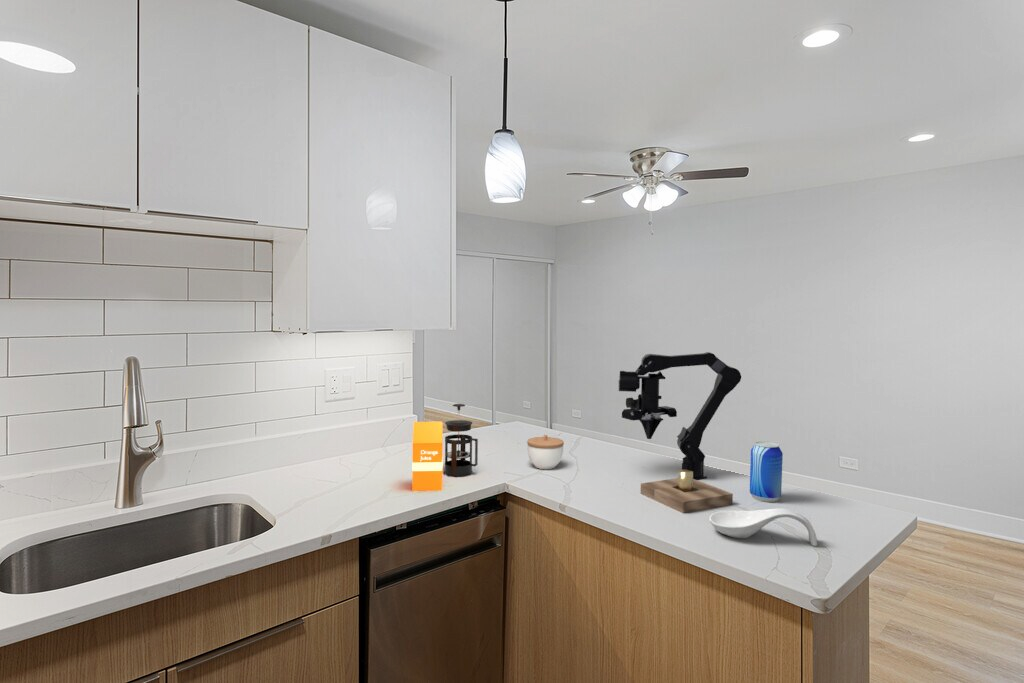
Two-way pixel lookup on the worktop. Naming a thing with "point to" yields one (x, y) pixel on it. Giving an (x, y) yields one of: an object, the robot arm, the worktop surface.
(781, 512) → the spoon rest
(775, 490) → the beer can
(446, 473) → the french press
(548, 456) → the lidded bowl
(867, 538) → the worktop surface
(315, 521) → the worktop surface
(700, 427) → the robot arm
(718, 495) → the walnut jig
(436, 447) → the orange juice
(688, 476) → the brass sleeve
